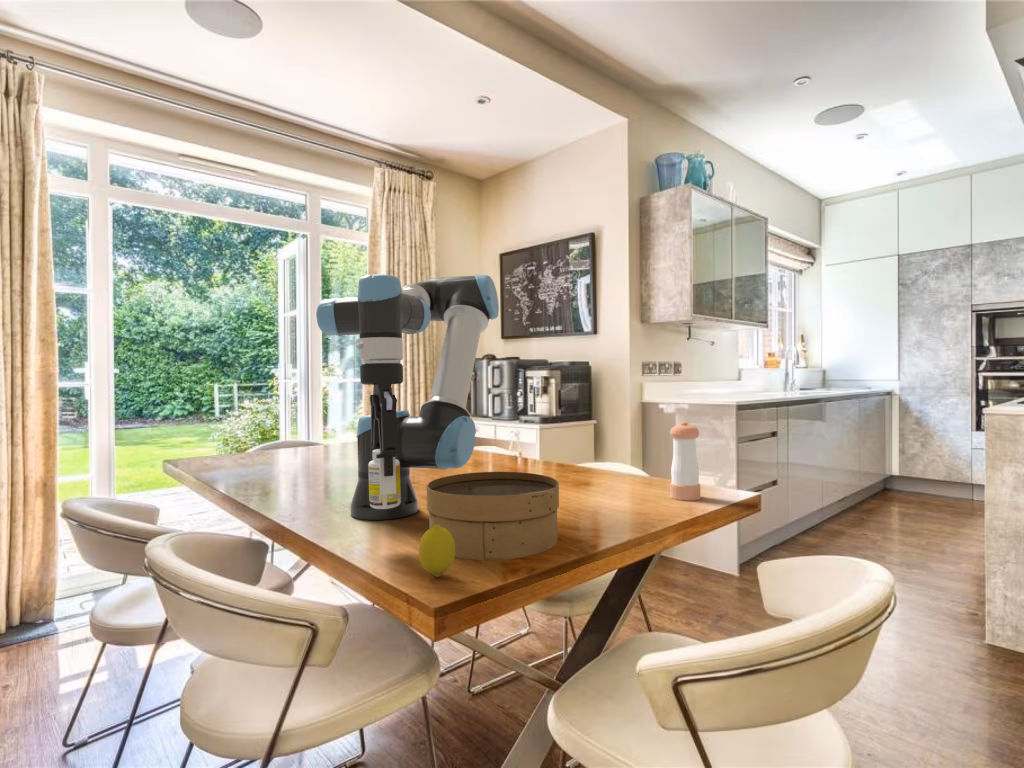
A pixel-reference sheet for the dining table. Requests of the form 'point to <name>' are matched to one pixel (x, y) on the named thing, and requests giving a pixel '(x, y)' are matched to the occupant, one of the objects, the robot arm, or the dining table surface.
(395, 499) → the supplement bottle
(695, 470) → the pepper shaker
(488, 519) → the steamer basket
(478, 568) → the dining table surface
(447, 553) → the lemon
